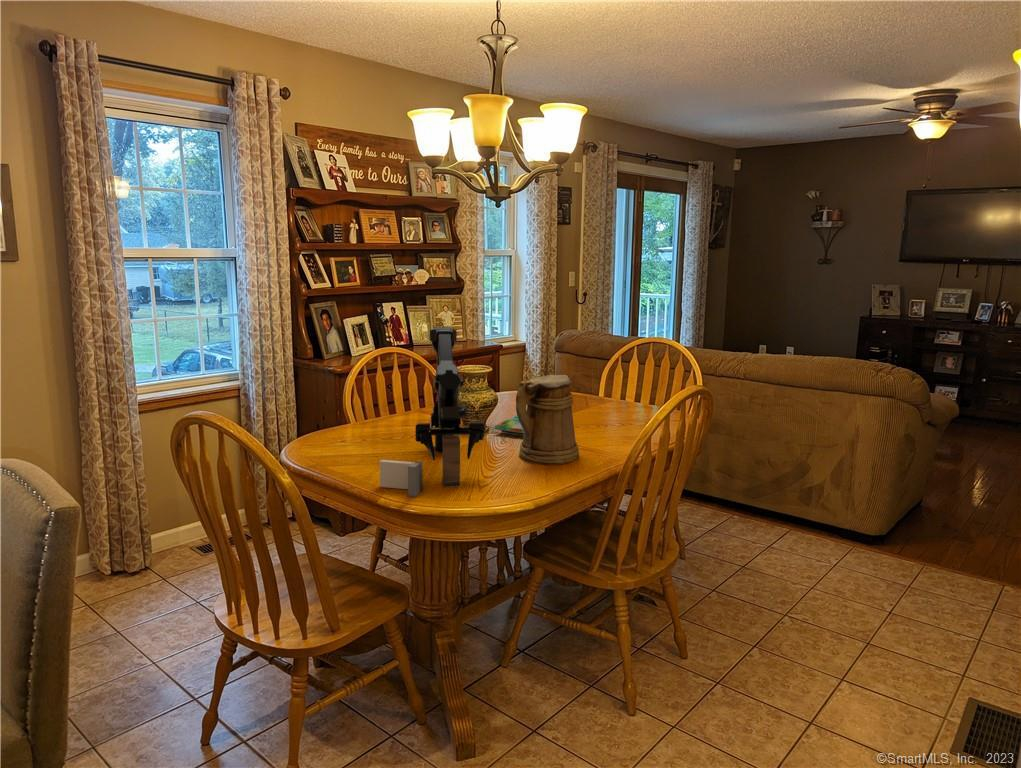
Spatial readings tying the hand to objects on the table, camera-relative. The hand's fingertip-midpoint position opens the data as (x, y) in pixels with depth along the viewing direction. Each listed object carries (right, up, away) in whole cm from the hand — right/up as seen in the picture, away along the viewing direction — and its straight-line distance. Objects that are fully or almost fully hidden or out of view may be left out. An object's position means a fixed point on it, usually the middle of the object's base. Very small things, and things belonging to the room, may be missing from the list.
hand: (451, 459), depth 188 cm
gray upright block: (-9, -9, -6) cm, 14 cm away
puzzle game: (+20, +3, +58) cm, 62 cm away
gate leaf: (-13, -7, -2) cm, 15 cm away
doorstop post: (0, -7, +2) cm, 7 cm away
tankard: (+26, -3, +27) cm, 38 cm away
